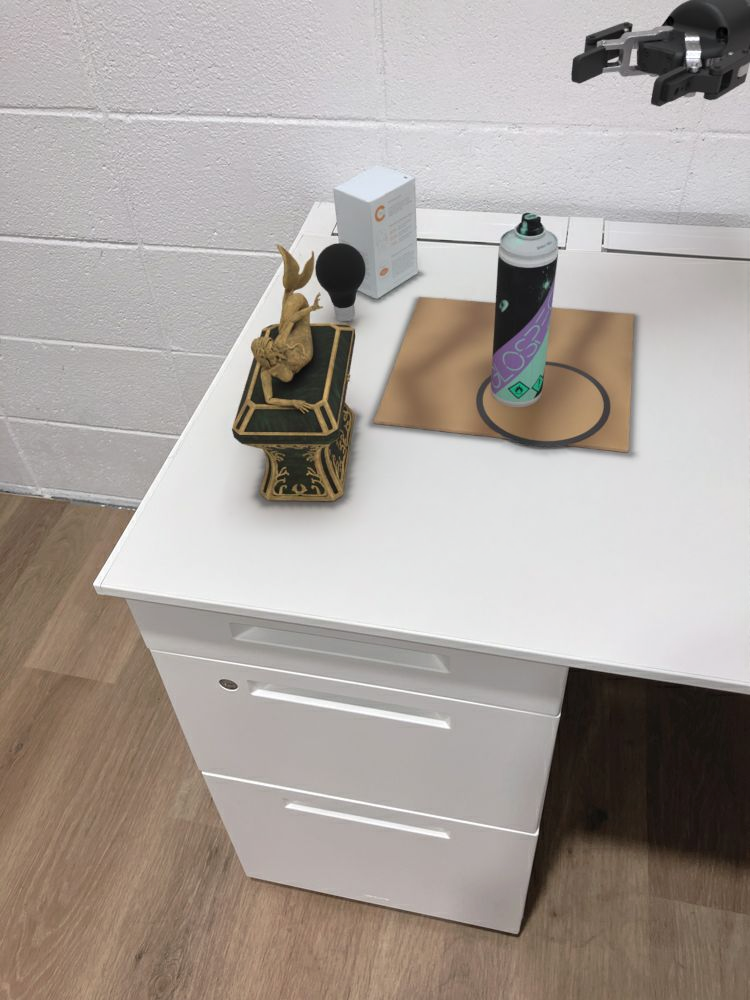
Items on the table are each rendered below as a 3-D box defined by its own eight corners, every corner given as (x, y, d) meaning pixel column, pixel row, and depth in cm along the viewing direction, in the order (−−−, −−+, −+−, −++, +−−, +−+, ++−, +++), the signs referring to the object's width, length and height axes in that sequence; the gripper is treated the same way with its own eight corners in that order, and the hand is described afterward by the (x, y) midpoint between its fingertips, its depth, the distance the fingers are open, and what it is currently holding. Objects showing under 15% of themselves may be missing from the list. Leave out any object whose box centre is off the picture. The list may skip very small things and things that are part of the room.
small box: (383, 258, 108) (378, 162, 99) (419, 274, 105) (417, 176, 95) (341, 284, 104) (331, 186, 95) (376, 300, 101) (369, 201, 92)
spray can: (486, 404, 85) (496, 228, 71) (494, 373, 89) (504, 200, 74) (539, 410, 84) (559, 232, 69) (544, 378, 88) (564, 203, 73)
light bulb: (347, 340, 95) (339, 265, 88) (312, 324, 98) (301, 249, 91) (379, 317, 98) (374, 243, 91) (344, 302, 101) (336, 228, 94)
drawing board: (633, 316, 95) (634, 313, 95) (627, 459, 79) (628, 455, 78) (419, 299, 101) (419, 295, 100) (371, 429, 84) (371, 425, 84)
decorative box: (349, 515, 76) (328, 342, 62) (250, 513, 77) (206, 343, 63) (367, 383, 90) (353, 217, 75) (282, 383, 90) (252, 219, 76)
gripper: (663, -24, 78) (554, 18, 71) (802, 1, 70) (696, 51, 63) (648, 60, 83) (546, 107, 76) (777, 92, 75) (675, 147, 68)
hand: (614, 82), depth 70 cm, fingers open, 8 cm apart
